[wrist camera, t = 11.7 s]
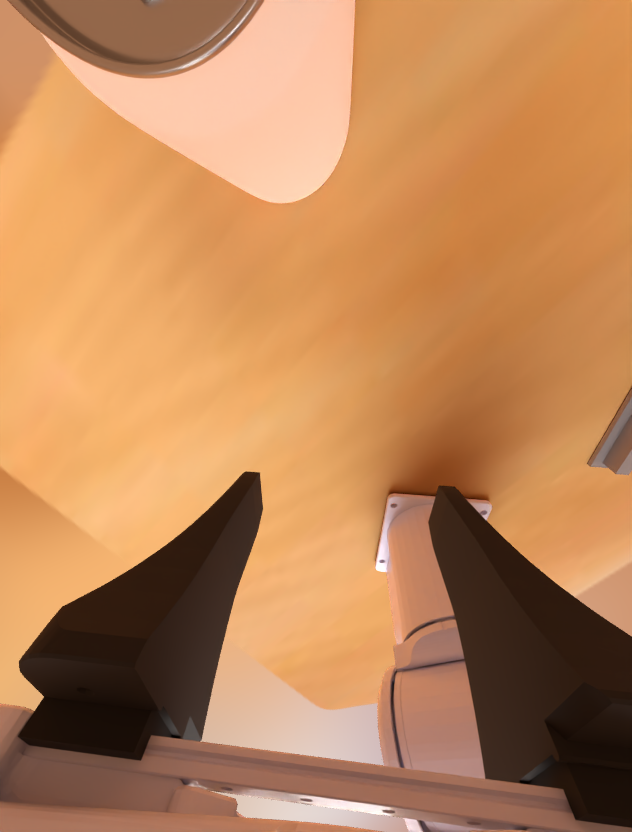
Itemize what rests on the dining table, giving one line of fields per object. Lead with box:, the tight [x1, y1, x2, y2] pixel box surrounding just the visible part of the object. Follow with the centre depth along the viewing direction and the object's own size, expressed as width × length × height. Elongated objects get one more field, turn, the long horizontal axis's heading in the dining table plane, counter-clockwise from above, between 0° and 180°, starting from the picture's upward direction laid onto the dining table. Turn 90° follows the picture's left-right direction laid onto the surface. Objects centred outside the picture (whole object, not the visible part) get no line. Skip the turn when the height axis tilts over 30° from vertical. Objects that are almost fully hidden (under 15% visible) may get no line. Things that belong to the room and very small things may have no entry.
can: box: [8, 0, 355, 203], centre depth 9 cm, size 6×6×12 cm
